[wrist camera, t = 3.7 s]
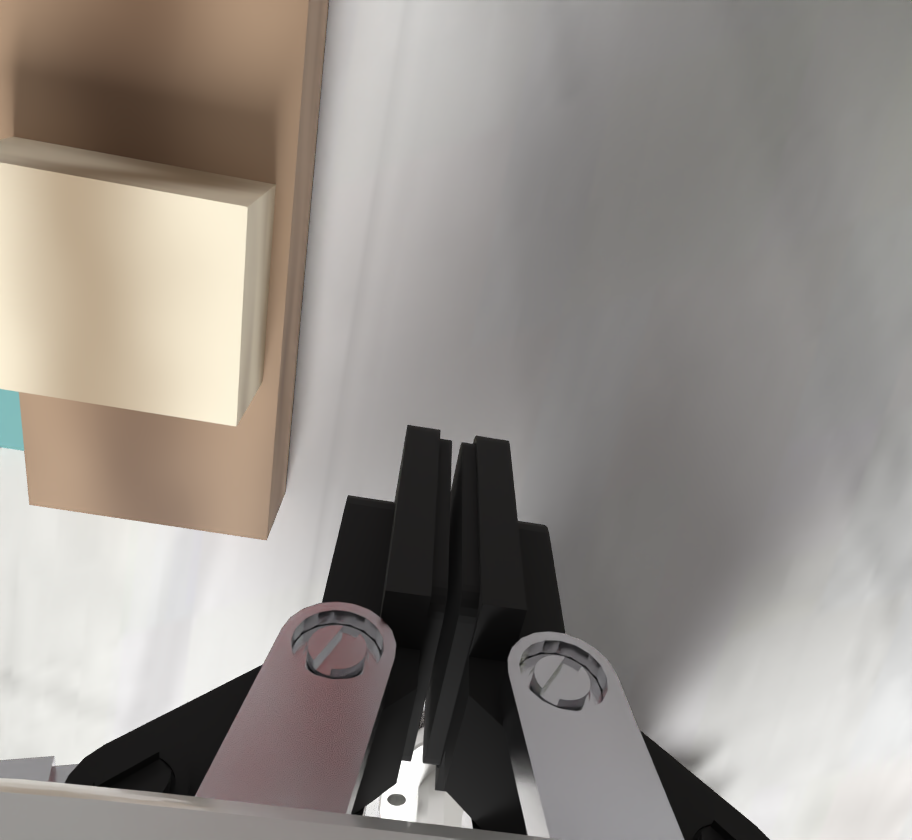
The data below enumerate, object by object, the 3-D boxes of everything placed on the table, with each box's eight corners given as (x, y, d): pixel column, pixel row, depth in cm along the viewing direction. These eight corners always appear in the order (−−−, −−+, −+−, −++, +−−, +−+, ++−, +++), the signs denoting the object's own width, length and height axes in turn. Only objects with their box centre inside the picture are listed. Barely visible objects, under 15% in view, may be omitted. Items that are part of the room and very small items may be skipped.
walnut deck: (333, -55, 21) (314, -68, 18) (284, 493, 29) (266, 540, 26) (34, -117, 20) (-32, -139, 17) (70, 460, 28) (29, 504, 26)
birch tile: (275, 184, 21) (247, 206, 18) (262, 381, 23) (236, 426, 21) (13, 136, 20) (-56, 152, 18) (30, 343, 23) (-27, 384, 20)
